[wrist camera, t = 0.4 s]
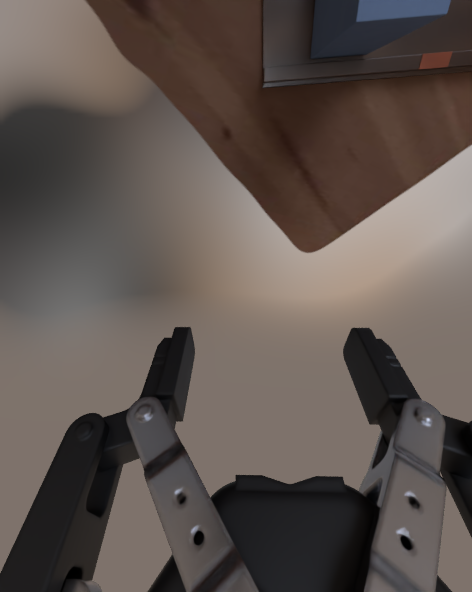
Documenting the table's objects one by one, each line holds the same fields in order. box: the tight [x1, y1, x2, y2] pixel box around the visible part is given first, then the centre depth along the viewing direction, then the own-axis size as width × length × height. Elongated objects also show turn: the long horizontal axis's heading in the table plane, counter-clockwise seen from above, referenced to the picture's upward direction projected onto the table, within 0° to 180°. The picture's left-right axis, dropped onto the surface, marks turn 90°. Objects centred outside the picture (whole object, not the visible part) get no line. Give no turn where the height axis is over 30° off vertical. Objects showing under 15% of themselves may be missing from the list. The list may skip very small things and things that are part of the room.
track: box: [263, 0, 472, 88], centre depth 24 cm, size 10×28×1 cm, turn 93°
